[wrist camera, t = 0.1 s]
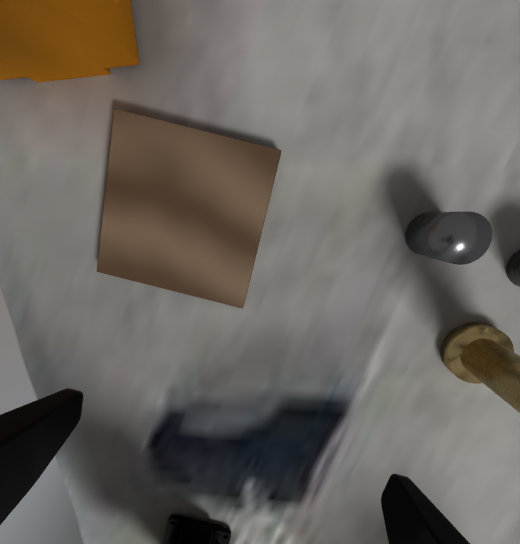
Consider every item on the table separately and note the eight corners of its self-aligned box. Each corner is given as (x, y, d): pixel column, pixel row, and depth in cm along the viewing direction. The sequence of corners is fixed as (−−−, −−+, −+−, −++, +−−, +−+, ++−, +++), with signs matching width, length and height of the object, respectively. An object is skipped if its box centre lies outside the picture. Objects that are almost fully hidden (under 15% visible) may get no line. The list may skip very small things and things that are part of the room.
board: (244, 304, 22) (242, 308, 21) (104, 269, 22) (96, 271, 21) (280, 153, 19) (281, 150, 18) (122, 114, 19) (114, 108, 18)
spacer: (439, 259, 20) (478, 270, 16) (399, 249, 20) (428, 257, 16) (456, 218, 20) (501, 219, 16) (414, 207, 20) (448, 205, 16)
